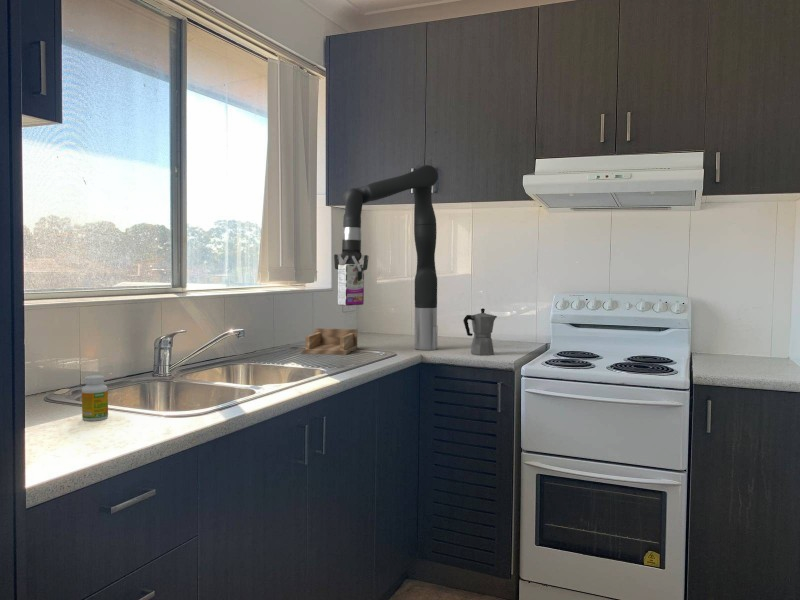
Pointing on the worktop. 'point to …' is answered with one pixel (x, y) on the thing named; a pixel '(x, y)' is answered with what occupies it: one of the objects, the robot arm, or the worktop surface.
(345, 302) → the candy bar box
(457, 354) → the worktop surface
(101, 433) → the worktop surface
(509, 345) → the worktop surface
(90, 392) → the supplement bottle
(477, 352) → the coffeepot
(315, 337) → the walnut rack
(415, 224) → the robot arm
